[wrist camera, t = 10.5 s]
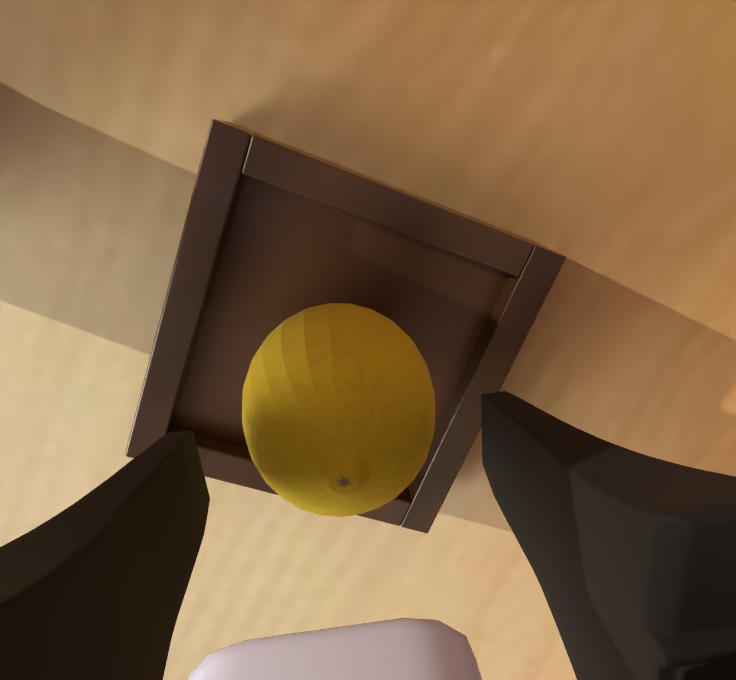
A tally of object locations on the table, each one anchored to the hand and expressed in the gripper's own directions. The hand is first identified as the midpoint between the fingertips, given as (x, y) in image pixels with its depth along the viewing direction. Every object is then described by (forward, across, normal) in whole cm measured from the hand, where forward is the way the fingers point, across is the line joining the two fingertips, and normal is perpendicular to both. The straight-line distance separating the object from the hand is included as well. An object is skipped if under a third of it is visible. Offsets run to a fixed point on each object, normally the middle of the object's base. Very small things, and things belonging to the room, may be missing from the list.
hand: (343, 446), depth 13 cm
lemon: (+7, 0, 0) cm, 7 cm away
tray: (+8, 0, 0) cm, 8 cm away
